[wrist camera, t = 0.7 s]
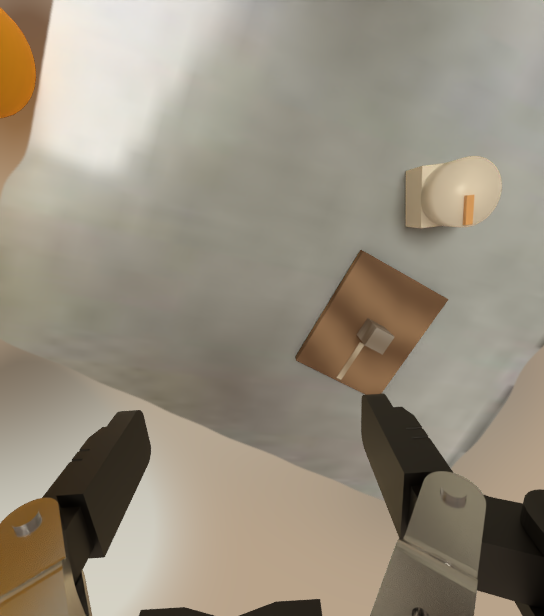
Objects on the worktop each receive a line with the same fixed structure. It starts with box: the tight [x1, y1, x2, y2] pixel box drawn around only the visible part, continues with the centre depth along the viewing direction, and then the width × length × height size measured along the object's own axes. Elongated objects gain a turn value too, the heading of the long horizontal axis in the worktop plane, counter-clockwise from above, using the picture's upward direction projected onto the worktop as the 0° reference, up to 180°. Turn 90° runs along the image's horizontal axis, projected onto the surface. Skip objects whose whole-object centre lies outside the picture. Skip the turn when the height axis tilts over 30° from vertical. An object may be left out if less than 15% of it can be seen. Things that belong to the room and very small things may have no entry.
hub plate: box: [296, 250, 448, 395], centre depth 34 cm, size 14×11×4 cm
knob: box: [405, 156, 502, 228], centre depth 29 cm, size 6×6×6 cm
